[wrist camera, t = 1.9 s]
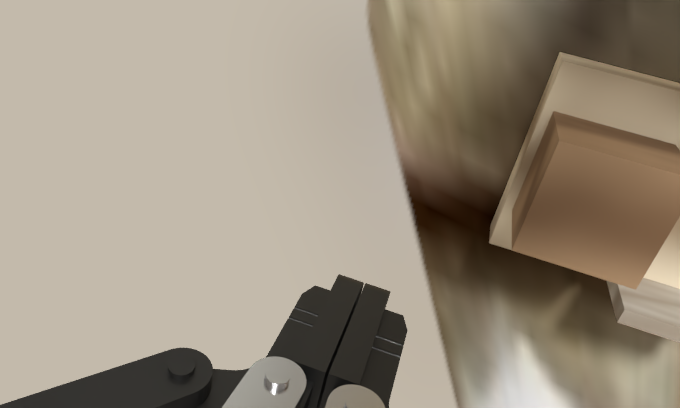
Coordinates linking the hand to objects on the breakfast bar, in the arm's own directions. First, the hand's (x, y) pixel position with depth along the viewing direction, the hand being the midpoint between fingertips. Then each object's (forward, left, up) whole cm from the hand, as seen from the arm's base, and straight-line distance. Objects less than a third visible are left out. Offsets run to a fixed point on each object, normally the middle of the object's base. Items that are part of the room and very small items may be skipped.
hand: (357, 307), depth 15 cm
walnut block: (0, +8, -14) cm, 17 cm away
